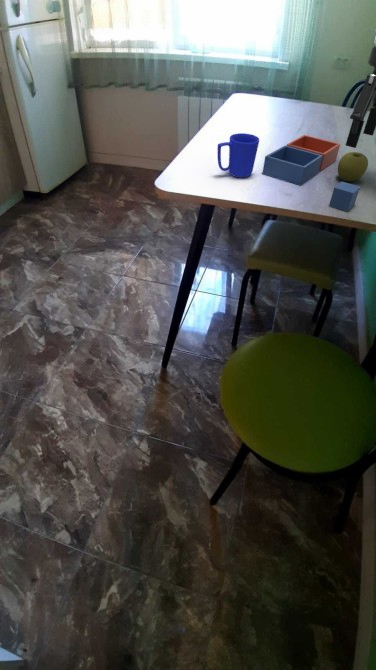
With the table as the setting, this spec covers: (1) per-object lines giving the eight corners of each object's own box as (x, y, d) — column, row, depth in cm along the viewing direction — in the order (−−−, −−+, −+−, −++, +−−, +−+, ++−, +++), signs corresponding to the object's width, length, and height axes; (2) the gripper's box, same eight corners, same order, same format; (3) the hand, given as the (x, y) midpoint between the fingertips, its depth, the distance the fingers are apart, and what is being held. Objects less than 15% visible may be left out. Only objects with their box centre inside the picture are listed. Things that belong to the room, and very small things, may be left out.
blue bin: (318, 172, 123) (323, 155, 120) (300, 185, 116) (304, 167, 112) (281, 162, 128) (285, 145, 125) (262, 173, 121) (265, 156, 117)
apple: (366, 185, 118) (375, 159, 113) (339, 184, 117) (346, 159, 112) (357, 174, 123) (364, 150, 118) (331, 174, 123) (338, 149, 118)
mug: (209, 171, 120) (212, 135, 114) (245, 167, 124) (250, 132, 117) (221, 183, 115) (225, 145, 108) (259, 177, 119) (265, 141, 112)
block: (354, 205, 108) (360, 186, 104) (347, 211, 105) (353, 193, 101) (336, 199, 110) (341, 181, 106) (328, 206, 107) (334, 187, 103)
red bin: (335, 160, 131) (340, 143, 128) (320, 171, 124) (324, 154, 120) (300, 151, 136) (304, 134, 133) (283, 161, 129) (286, 144, 125)
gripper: (389, 39, 107) (362, 126, 122) (355, 50, 92) (329, 148, 107) (418, 43, 104) (387, 132, 119) (388, 55, 89) (356, 155, 104)
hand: (359, 140), depth 113 cm, fingers open, 13 cm apart
